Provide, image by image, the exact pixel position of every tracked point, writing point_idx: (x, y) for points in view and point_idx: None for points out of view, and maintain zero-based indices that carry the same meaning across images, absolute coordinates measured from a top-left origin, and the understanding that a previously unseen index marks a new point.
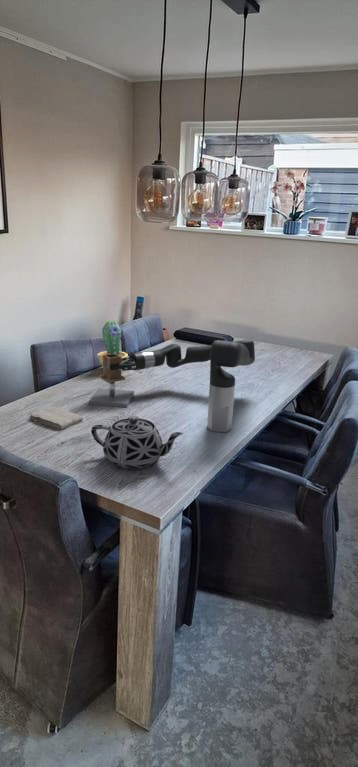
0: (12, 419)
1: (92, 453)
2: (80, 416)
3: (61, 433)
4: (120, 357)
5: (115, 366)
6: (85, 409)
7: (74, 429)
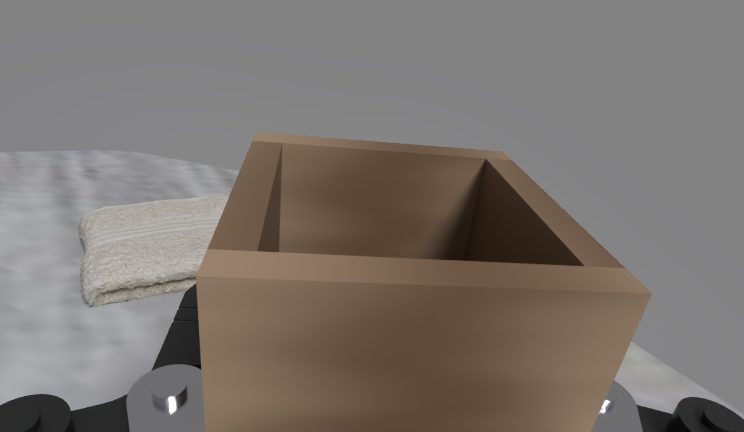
0: None
1: None
2: (93, 280)
3: (56, 224)
4: (202, 282)
5: (176, 324)
6: None
7: (37, 257)
